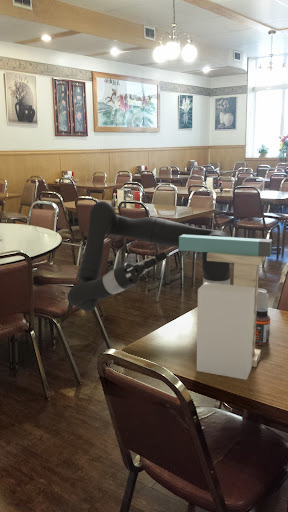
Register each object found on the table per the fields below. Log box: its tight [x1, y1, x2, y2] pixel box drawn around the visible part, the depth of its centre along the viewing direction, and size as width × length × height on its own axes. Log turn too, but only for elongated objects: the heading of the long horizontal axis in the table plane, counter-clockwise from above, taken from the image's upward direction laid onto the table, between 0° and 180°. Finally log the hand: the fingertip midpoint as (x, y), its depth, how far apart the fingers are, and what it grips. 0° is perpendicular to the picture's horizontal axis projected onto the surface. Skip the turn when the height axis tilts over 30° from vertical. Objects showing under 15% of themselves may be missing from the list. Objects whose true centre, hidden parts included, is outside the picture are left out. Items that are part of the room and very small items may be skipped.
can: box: [257, 287, 270, 311], centre depth 167 cm, size 8×8×12 cm
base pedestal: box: [196, 282, 255, 381], centre depth 129 cm, size 7×14×24 cm, turn 67°
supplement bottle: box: [255, 307, 271, 346], centre depth 149 cm, size 6×6×11 cm
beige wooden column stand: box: [207, 252, 266, 368], centre depth 136 cm, size 8×15×32 cm, turn 67°
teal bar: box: [178, 234, 273, 258], centre depth 134 cm, size 4×26×4 cm, turn 67°
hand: (161, 257), depth 142 cm, fingers open, 8 cm apart
